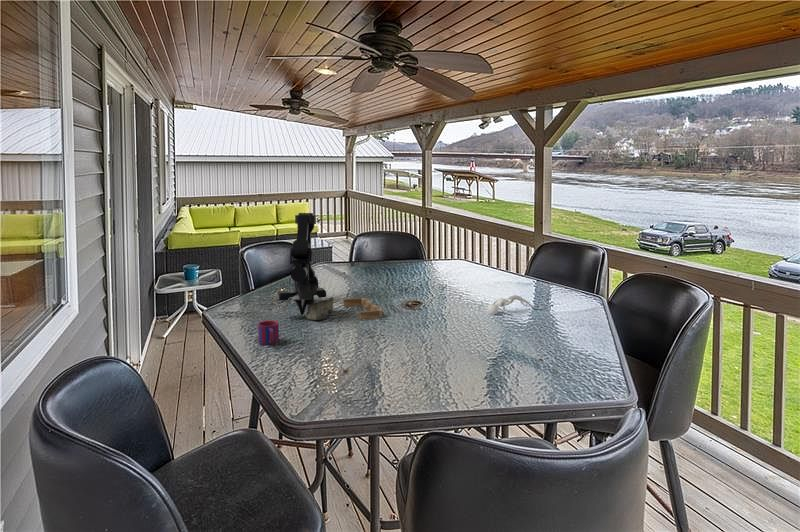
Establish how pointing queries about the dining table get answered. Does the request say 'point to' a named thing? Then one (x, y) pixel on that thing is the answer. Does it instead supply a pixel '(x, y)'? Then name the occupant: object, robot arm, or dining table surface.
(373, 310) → the wooden u-shaped handle
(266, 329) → the mug
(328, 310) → the rock
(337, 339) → the dining table surface
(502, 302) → the figurine
